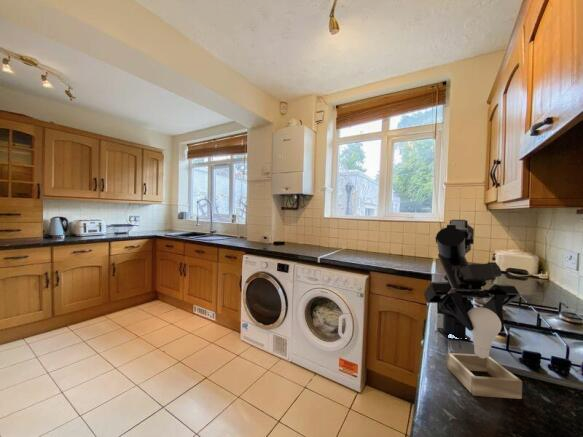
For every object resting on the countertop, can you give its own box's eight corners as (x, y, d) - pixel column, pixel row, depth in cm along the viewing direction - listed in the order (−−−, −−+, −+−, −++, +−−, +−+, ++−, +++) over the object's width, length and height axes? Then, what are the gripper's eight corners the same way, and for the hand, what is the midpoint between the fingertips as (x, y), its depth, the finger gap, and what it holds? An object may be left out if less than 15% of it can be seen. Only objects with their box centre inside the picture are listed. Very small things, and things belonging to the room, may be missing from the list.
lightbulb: (465, 346, 57) (467, 300, 57) (499, 357, 54) (501, 307, 53) (463, 358, 53) (465, 308, 52) (500, 370, 49) (502, 316, 49)
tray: (446, 367, 58) (447, 352, 58) (487, 369, 57) (487, 355, 57) (473, 395, 49) (473, 378, 49) (521, 398, 48) (522, 381, 48)
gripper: (431, 248, 57) (458, 313, 46) (514, 250, 56) (562, 317, 45) (415, 273, 65) (436, 333, 54) (488, 275, 64) (523, 338, 53)
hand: (487, 330), depth 52 cm, fingers closed on lightbulb, 6 cm apart
